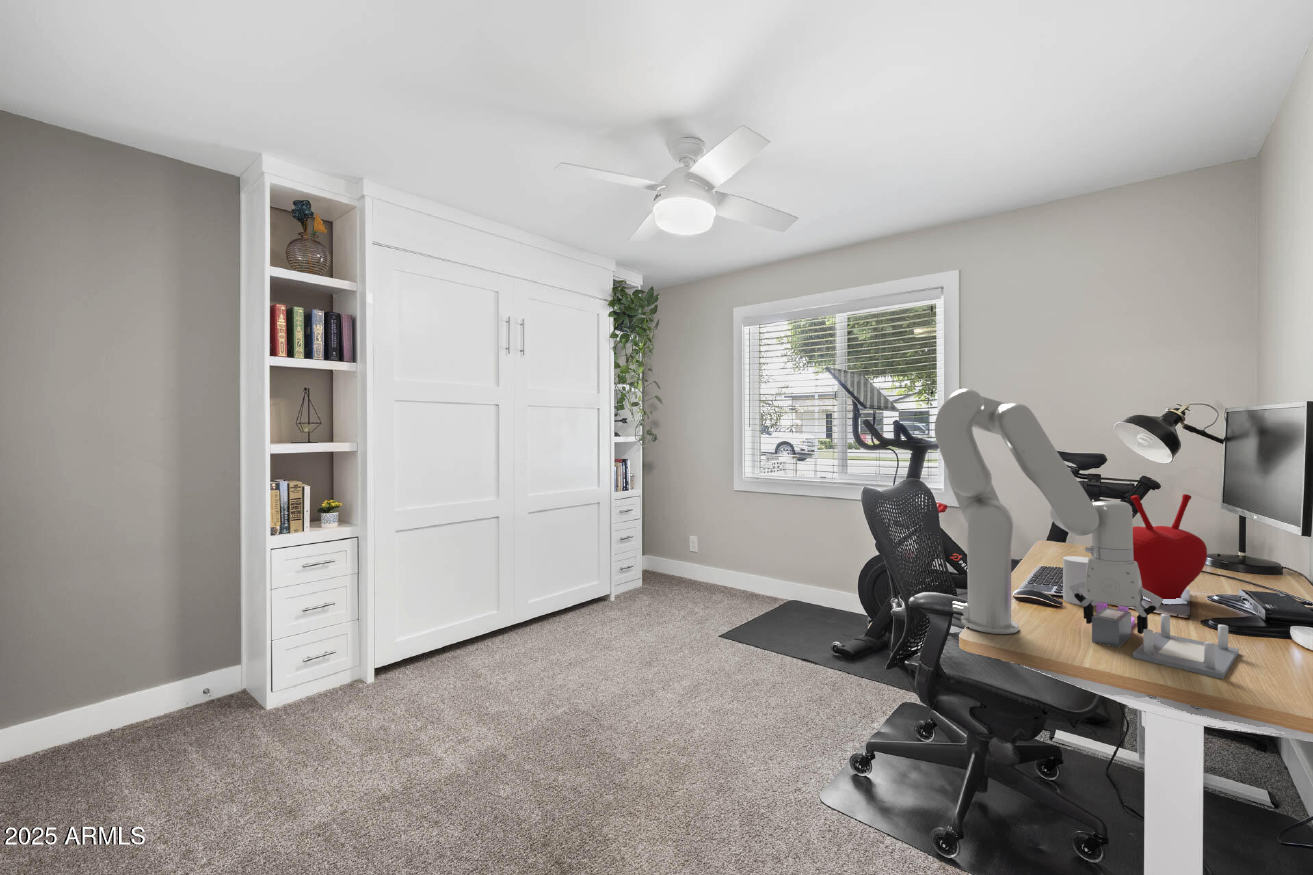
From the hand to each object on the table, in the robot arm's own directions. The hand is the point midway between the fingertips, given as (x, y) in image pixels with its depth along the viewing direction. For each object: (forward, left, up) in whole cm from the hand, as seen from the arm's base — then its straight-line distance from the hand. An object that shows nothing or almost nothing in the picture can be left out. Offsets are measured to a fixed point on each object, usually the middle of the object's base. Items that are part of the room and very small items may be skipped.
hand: (1114, 627), depth 135 cm
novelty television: (-1, +48, -3) cm, 48 cm away
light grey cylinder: (-15, +29, -3) cm, 32 cm away
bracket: (-3, +13, -3) cm, 13 cm away
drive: (-1, 0, -3) cm, 3 cm away
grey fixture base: (+12, 0, -3) cm, 13 cm away
